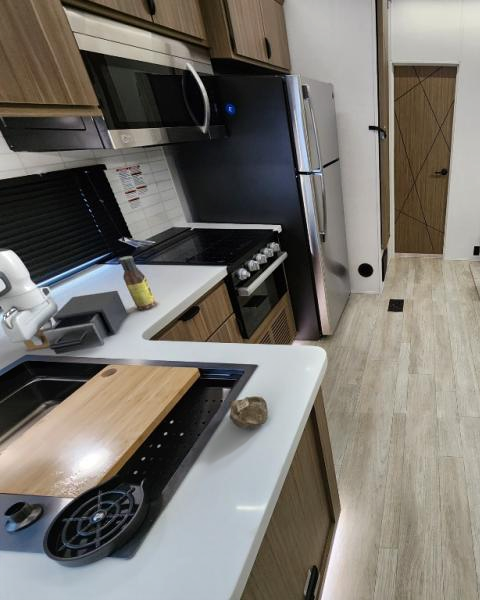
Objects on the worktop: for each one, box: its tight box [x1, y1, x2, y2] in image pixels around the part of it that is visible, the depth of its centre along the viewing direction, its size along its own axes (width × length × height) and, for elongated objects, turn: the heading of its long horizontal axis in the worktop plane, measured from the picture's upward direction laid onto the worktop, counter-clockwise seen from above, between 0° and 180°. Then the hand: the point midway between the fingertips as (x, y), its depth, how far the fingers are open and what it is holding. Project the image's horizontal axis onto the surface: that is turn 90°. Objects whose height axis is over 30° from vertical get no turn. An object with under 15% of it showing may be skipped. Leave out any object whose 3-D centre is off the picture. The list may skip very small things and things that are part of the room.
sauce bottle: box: [118, 255, 157, 311], centre depth 122 cm, size 7×6×20 cm
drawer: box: [43, 312, 110, 355], centre depth 102 cm, size 18×11×8 cm, turn 23°
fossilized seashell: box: [229, 395, 269, 429], centre depth 76 cm, size 8×7×10 cm
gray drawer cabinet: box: [52, 290, 128, 337], centre depth 111 cm, size 15×13×10 cm
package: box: [23, 328, 51, 351], centre depth 105 cm, size 8×5×4 cm, turn 113°
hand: (45, 338), depth 105 cm, fingers closed on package, 5 cm apart
